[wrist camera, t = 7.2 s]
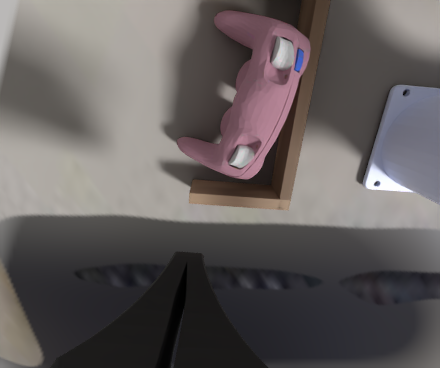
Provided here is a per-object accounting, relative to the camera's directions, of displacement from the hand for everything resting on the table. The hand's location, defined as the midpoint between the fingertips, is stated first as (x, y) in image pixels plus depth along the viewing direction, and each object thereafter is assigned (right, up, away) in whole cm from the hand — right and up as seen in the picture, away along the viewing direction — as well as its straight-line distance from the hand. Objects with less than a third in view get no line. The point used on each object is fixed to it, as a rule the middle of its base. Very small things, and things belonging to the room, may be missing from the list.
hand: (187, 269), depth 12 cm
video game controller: (+3, +11, +6) cm, 13 cm away
